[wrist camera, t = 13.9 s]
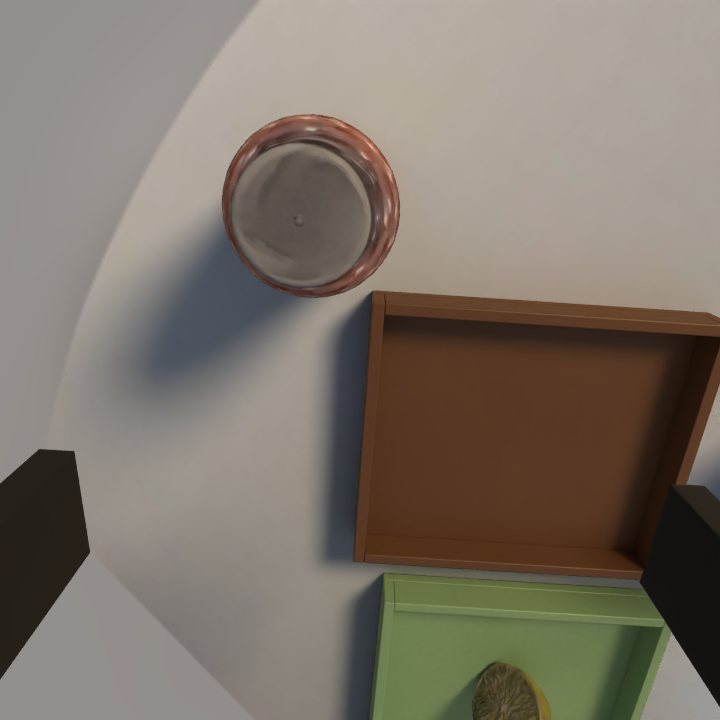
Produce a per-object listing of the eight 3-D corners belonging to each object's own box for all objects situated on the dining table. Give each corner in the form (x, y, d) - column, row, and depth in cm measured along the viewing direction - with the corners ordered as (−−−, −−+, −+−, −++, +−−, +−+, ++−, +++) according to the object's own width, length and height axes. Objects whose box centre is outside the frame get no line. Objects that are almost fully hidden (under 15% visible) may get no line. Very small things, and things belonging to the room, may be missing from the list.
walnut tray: (354, 534, 32) (353, 562, 30) (372, 290, 27) (372, 302, 25) (634, 552, 32) (654, 581, 30) (708, 312, 27) (739, 326, 25)
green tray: (366, 737, 39) (366, 772, 36) (383, 572, 33) (384, 602, 31) (601, 751, 39) (615, 787, 37) (655, 589, 33) (676, 620, 31)
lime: (465, 699, 36) (479, 779, 32) (476, 647, 35) (493, 724, 30) (529, 704, 36) (553, 785, 32) (544, 653, 35) (571, 730, 30)
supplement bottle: (377, 269, 26) (381, 342, 16) (259, 246, 26) (184, 304, 16) (403, 143, 24) (428, 129, 14) (275, 116, 24) (201, 82, 14)
